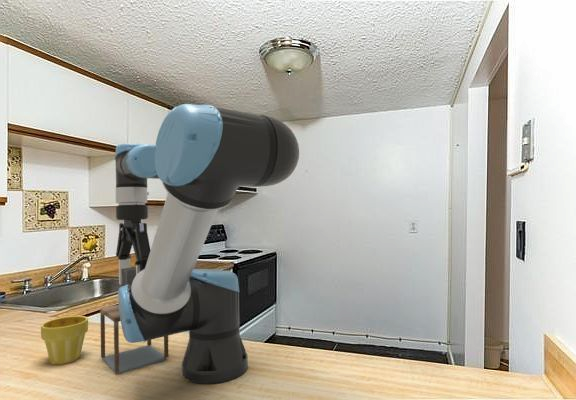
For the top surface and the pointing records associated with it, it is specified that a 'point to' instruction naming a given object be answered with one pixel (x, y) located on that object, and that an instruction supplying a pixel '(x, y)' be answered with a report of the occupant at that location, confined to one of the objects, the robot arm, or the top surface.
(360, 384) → the top surface
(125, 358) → the mat
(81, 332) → the plant pot
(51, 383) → the top surface
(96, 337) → the top surface
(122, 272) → the brown legged piece
